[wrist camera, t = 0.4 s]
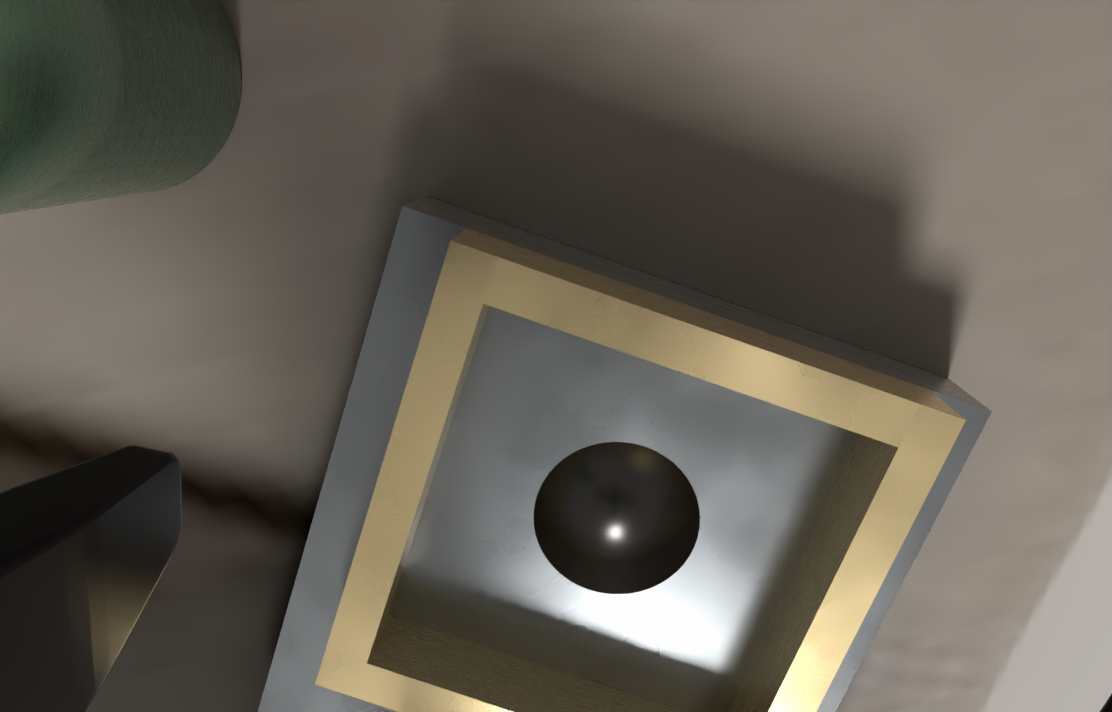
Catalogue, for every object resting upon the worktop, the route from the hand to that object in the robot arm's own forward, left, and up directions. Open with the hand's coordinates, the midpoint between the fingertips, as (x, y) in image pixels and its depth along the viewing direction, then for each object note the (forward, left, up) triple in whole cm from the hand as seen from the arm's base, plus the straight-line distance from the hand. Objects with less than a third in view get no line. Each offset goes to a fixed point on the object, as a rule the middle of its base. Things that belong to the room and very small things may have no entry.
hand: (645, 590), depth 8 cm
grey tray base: (-7, -2, -14) cm, 16 cm away
